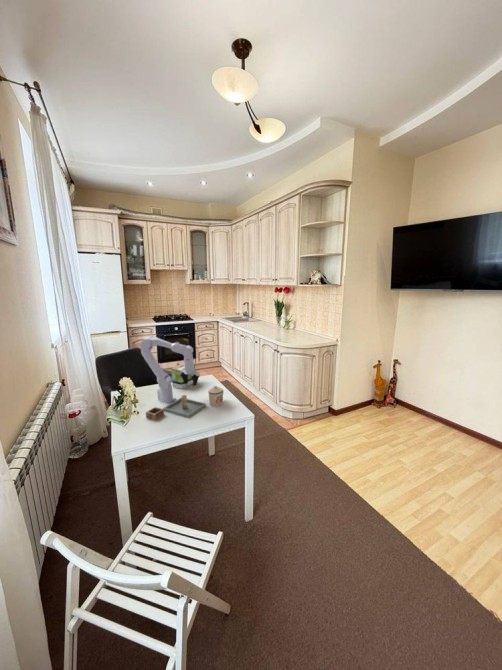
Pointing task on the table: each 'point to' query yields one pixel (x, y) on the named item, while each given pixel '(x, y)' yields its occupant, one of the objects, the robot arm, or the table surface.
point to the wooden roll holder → (155, 413)
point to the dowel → (184, 402)
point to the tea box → (177, 379)
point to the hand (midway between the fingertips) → (190, 384)
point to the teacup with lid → (215, 396)
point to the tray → (177, 409)
